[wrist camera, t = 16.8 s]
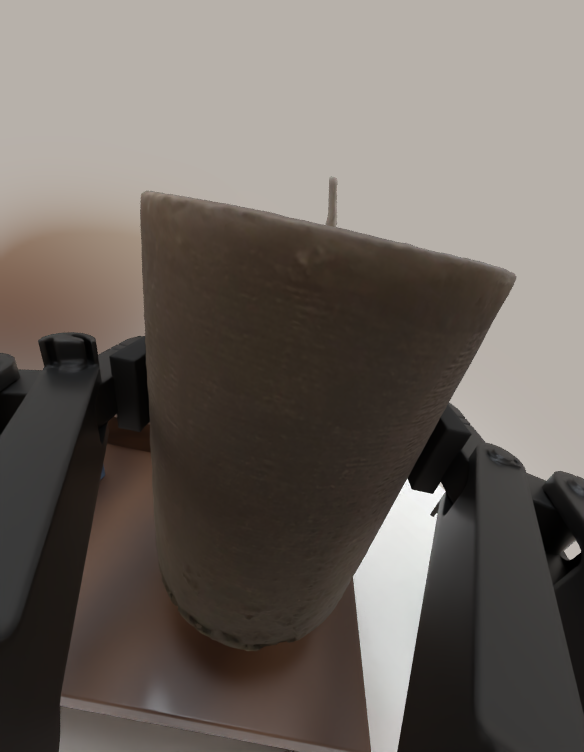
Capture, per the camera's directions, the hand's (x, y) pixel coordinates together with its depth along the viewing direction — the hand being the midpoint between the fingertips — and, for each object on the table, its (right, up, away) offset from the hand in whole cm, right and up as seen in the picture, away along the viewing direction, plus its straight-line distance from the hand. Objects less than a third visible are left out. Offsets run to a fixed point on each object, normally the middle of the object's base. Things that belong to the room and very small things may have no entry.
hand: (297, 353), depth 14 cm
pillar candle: (-2, -9, 0) cm, 9 cm away
